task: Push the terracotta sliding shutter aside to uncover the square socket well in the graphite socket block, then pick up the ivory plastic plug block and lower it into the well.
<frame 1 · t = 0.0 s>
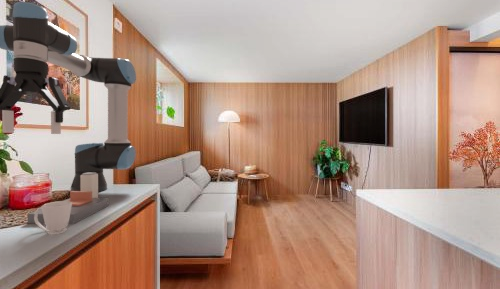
hand: (32, 133, 72), 28 cm above the cabinet, fingers open, 13 cm apart
cup: (52, 232, 71), on the cabinet
socket: (72, 213, 86), on the cabinet
shutter: (76, 198, 88), point 5 cm above the cabinet, slide at 0.0 cm
plug: (89, 200, 103), on the cabinet
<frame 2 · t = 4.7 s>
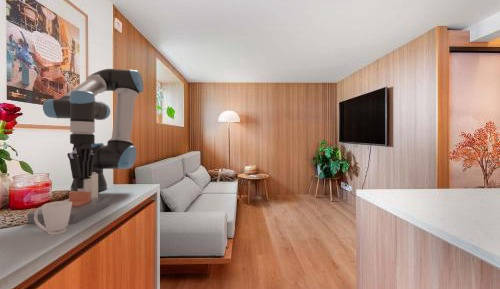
hand: (82, 196, 91), 5 cm above the cabinet, fingers closed
shutter: (75, 198, 88), point 5 cm above the cabinet, slide at 0.6 cm, touching gripper
everything else where it was.
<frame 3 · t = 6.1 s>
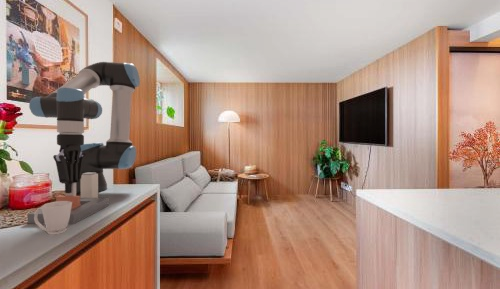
hand: (70, 201, 85), 4 cm above the cabinet, fingers closed
shutter: (62, 203, 81), point 5 cm above the cabinet, slide at 6.8 cm, touching gripper
everything else where it was.
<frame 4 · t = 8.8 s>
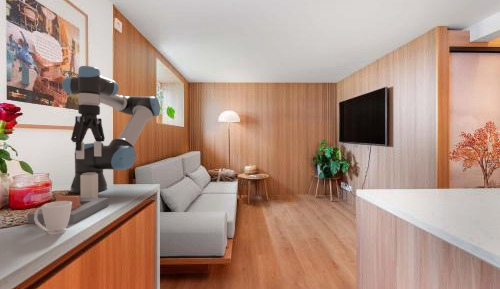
hand: (89, 157, 103), 18 cm above the cabinet, fingers open, 11 cm apart
shutter: (62, 203, 81), point 5 cm above the cabinet, slide at 6.9 cm
everything else where it was.
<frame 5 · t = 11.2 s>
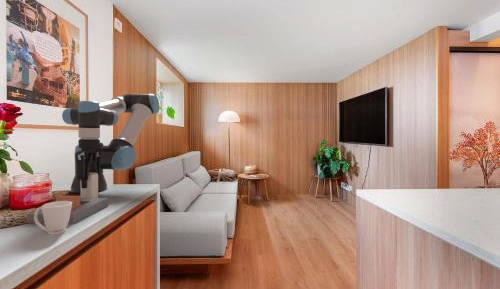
hand: (89, 194, 103), 3 cm above the cabinet, fingers closed on plug, 4 cm apart
plug: (89, 200, 103), on the cabinet, touching gripper
everything else where it was.
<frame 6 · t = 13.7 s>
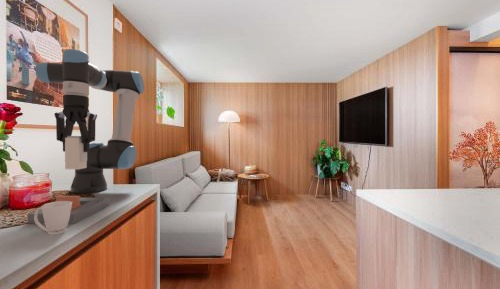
hand: (76, 161, 88), 18 cm above the cabinet, fingers closed on plug, 4 cm apart
plug: (76, 168, 88), point 16 cm above the cabinet, touching gripper
everything else where it was.
when the fingers open (5 cm above the cabinet, at t = 16.3 s): plug drops 2 cm, resting in socket.
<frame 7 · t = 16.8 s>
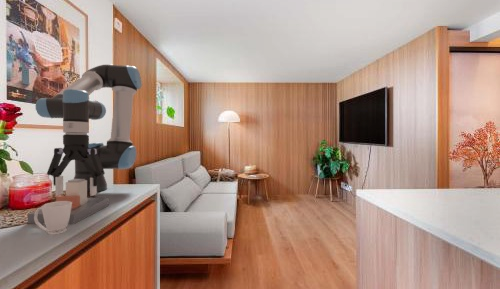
hand: (76, 194, 88), 6 cm above the cabinet, fingers open, 11 cm apart
plug: (76, 211, 88), resting in socket
everything else where it was.
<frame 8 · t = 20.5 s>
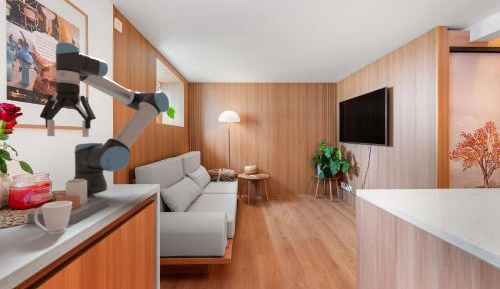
hand: (68, 136, 99), 27 cm above the cabinet, fingers open, 13 cm apart
nothing on the cabinet moved.
at the end: plug 0.1 cm from the target spot on the socket, point 0.0 cm above the socket's base; plug tilted 0°; shutter slide at 6.9 cm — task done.
